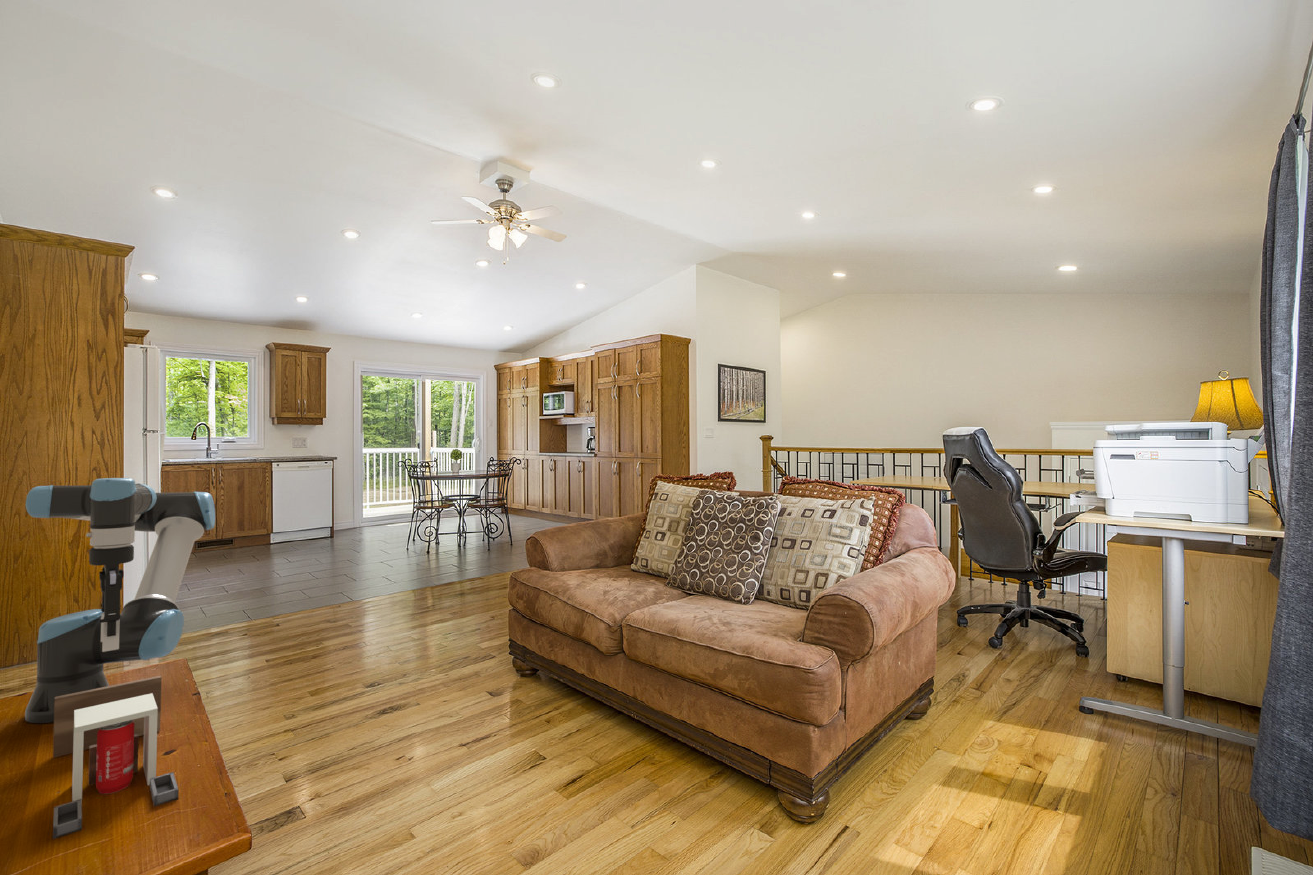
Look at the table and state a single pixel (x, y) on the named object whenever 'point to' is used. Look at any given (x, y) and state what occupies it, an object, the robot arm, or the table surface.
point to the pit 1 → (67, 818)
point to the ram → (92, 698)
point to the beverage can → (114, 757)
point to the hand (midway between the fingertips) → (109, 645)
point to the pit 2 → (163, 789)
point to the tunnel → (113, 715)
